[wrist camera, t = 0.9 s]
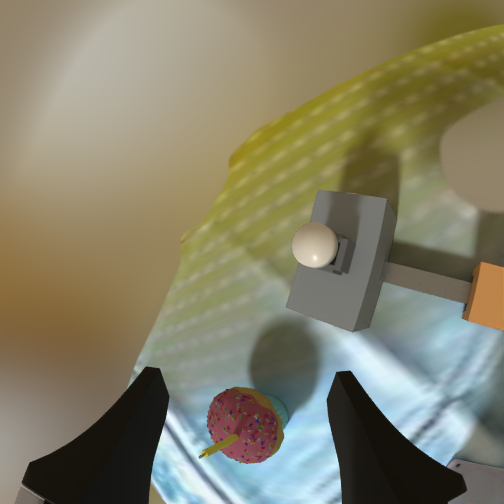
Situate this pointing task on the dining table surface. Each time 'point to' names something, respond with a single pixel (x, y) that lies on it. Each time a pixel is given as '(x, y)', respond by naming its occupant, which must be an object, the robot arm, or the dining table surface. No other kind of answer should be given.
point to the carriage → (486, 296)
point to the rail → (426, 282)
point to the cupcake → (246, 425)
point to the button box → (346, 261)
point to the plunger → (315, 245)
